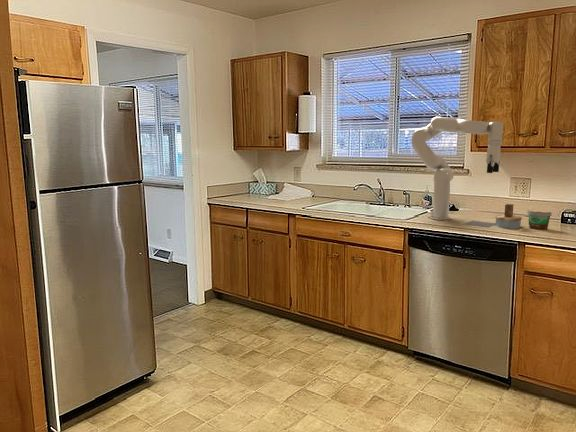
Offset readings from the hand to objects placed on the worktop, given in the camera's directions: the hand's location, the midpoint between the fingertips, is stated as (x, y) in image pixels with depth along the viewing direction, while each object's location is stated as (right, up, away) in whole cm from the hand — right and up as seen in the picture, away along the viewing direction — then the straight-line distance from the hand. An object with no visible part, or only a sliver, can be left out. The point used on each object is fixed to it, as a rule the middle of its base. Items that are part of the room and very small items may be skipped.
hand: (492, 172), depth 278 cm
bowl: (+5, -32, -8) cm, 34 cm away
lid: (+5, -27, -9) cm, 29 cm away
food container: (+19, -33, -13) cm, 41 cm away
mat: (-8, -31, -1) cm, 32 cm away
